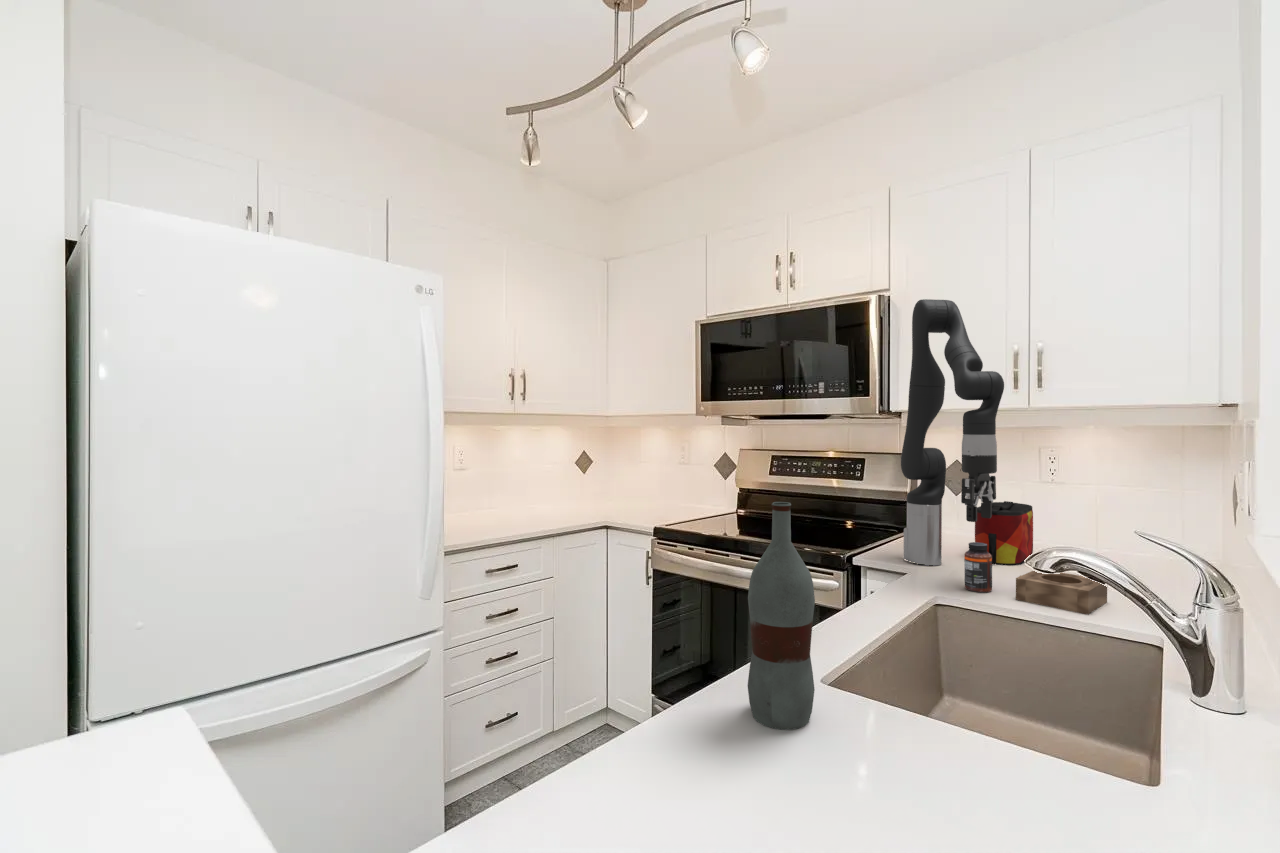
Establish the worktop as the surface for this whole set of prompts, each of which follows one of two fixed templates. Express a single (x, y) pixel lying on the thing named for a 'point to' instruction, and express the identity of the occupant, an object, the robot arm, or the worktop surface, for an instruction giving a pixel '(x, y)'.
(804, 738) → the worktop surface
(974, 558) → the supplement bottle
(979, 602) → the worktop surface
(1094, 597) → the socket block
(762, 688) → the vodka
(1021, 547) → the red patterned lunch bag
